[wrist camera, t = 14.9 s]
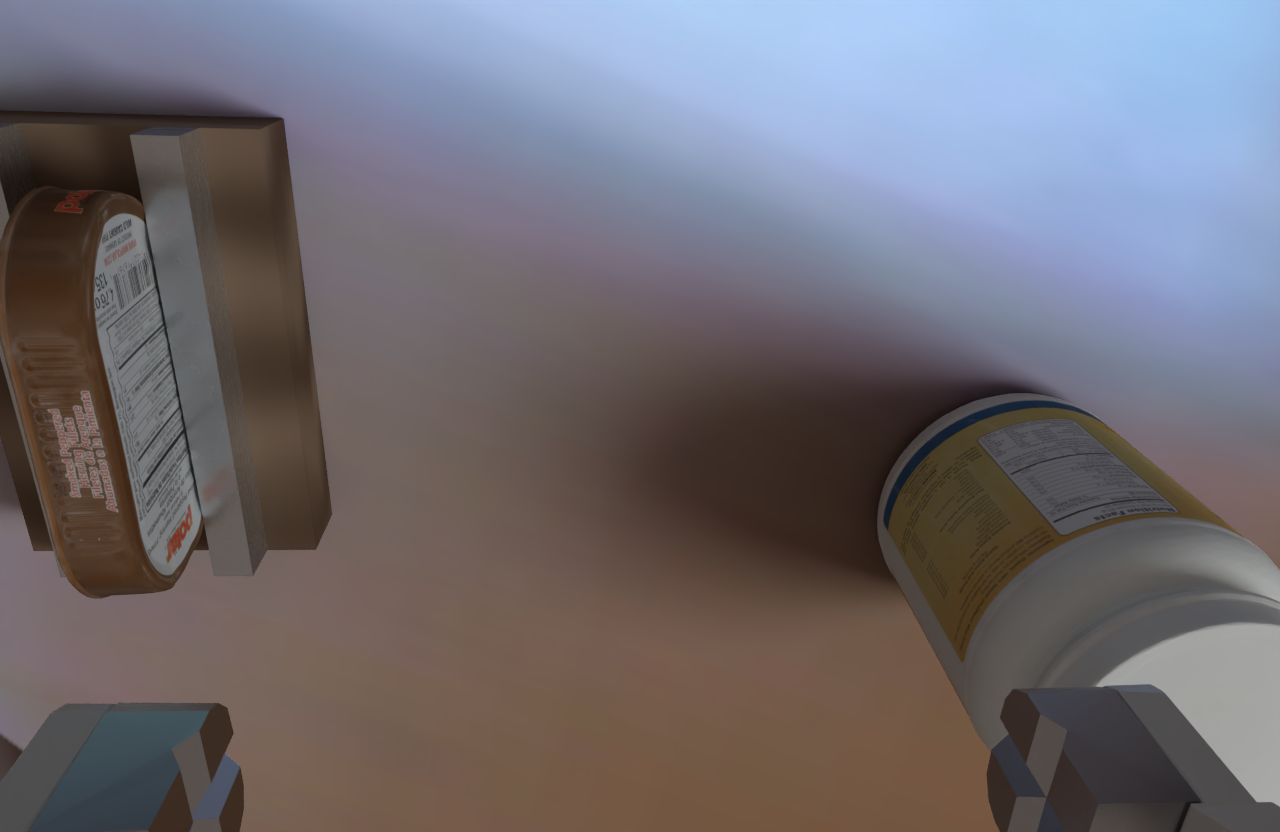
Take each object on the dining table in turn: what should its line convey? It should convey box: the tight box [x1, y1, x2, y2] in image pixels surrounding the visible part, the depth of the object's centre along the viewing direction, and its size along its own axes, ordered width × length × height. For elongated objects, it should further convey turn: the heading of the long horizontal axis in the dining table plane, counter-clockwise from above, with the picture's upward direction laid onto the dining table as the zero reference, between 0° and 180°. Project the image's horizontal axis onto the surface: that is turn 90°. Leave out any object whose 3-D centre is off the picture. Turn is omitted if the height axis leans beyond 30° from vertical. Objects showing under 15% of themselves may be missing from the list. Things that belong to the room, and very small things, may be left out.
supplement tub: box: [877, 393, 1280, 807], centre depth 38 cm, size 12×12×17 cm
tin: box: [0, 186, 204, 598], centre depth 33 cm, size 15×3×8 cm, turn 178°
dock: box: [0, 111, 332, 577], centre depth 37 cm, size 18×12×5 cm, turn 178°
